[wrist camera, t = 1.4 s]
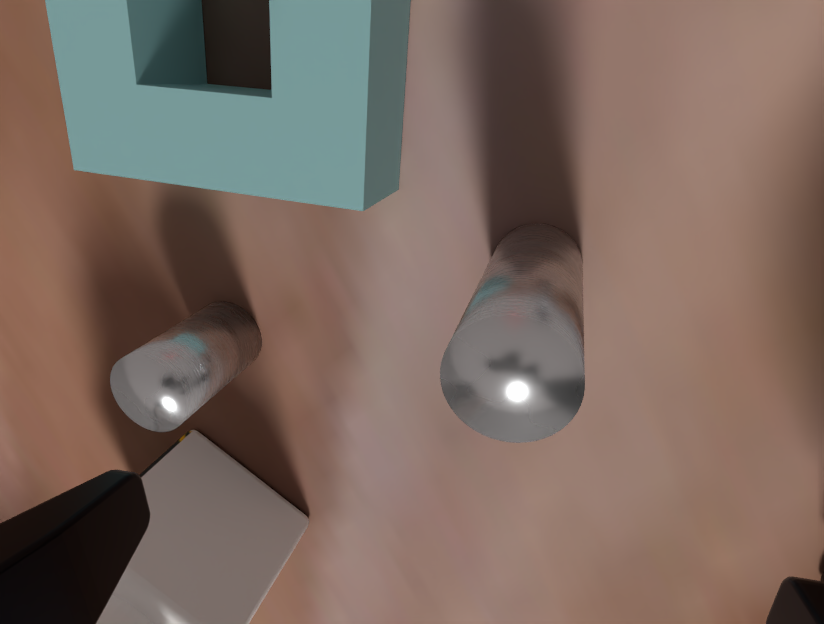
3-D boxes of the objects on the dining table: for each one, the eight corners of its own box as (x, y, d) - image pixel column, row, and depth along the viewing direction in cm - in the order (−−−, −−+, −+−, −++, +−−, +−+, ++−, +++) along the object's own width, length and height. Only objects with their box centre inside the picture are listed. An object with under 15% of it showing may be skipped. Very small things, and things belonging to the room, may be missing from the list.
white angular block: (194, 423, 26) (-75, 663, 15) (314, 517, 26) (131, 819, 15) (142, 504, 29) (-109, 748, 19) (249, 587, 29) (62, 876, 19)
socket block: (422, -182, 15) (381, -251, 12) (398, 189, 19) (363, 211, 16) (109, -176, 17) (5, -232, 14) (148, 156, 21) (74, 170, 18)
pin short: (260, 308, 22) (181, 364, 18) (262, 372, 24) (189, 440, 19) (195, 295, 23) (103, 347, 19) (201, 359, 24) (116, 421, 20)
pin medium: (591, 230, 18) (598, 330, 11) (573, 315, 19) (569, 456, 12) (498, 217, 18) (447, 304, 11) (486, 300, 20) (434, 425, 13)
